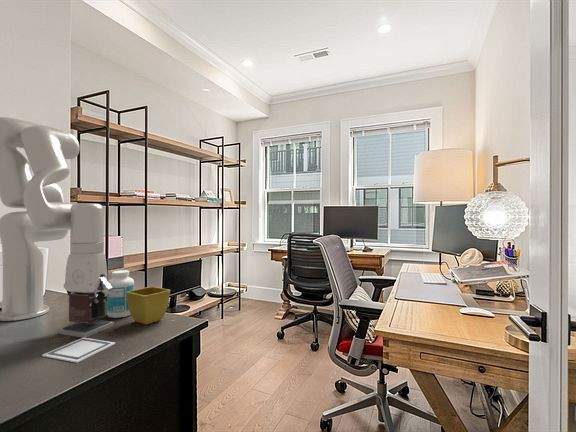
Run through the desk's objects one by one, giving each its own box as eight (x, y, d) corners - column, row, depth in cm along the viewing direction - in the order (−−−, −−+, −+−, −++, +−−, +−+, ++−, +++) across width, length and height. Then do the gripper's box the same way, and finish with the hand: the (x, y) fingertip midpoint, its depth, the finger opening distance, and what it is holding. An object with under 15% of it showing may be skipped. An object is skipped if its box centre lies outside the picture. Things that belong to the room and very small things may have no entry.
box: (87, 323, 81) (87, 295, 81) (68, 322, 82) (68, 294, 82) (105, 316, 87) (105, 289, 86) (87, 314, 88) (87, 288, 88)
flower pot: (152, 314, 97) (152, 285, 97) (171, 319, 93) (171, 289, 93) (125, 322, 90) (125, 291, 90) (144, 328, 85) (144, 296, 85)
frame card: (42, 356, 69) (42, 354, 69) (83, 338, 78) (83, 337, 78) (77, 362, 66) (77, 360, 66) (115, 343, 75) (115, 342, 75)
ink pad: (58, 333, 81) (58, 328, 81) (88, 322, 90) (88, 317, 90) (85, 337, 79) (85, 332, 79) (114, 325, 87) (114, 321, 87)
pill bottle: (127, 309, 102) (128, 268, 102) (138, 314, 97) (138, 271, 97) (102, 315, 96) (103, 271, 96) (112, 320, 91) (113, 274, 91)
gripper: (49, 249, 83) (49, 316, 83) (101, 251, 78) (101, 323, 78) (75, 246, 90) (75, 308, 90) (124, 248, 85) (124, 314, 85)
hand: (87, 314), depth 84 cm, fingers closed on box, 6 cm apart
